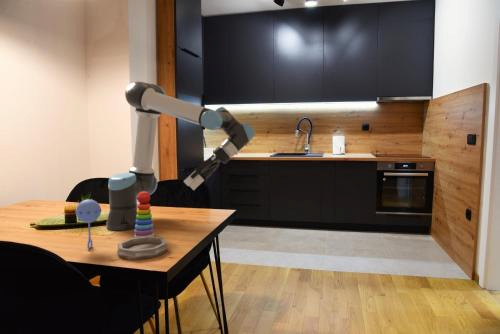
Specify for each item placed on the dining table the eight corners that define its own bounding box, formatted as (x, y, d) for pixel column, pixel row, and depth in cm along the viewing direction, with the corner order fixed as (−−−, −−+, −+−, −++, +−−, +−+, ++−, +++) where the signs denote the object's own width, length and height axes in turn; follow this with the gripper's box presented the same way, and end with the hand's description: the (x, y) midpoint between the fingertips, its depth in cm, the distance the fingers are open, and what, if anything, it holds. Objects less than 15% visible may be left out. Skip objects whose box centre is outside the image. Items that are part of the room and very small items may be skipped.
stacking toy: (149, 241, 143) (147, 193, 141) (130, 240, 145) (128, 193, 143) (158, 235, 151) (156, 190, 149) (140, 234, 152) (138, 189, 150)
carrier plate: (106, 256, 126) (106, 248, 126) (138, 242, 142) (138, 234, 142) (147, 262, 120) (147, 253, 120) (176, 246, 136) (176, 238, 136)
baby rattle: (82, 244, 140) (80, 197, 138) (106, 243, 141) (103, 197, 139) (73, 252, 131) (70, 202, 130) (98, 251, 132) (96, 201, 130)
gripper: (229, 151, 146) (189, 188, 143) (232, 163, 170) (199, 195, 168) (216, 138, 147) (176, 175, 144) (221, 152, 171) (187, 183, 169)
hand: (188, 186), depth 156 cm, fingers open, 13 cm apart
